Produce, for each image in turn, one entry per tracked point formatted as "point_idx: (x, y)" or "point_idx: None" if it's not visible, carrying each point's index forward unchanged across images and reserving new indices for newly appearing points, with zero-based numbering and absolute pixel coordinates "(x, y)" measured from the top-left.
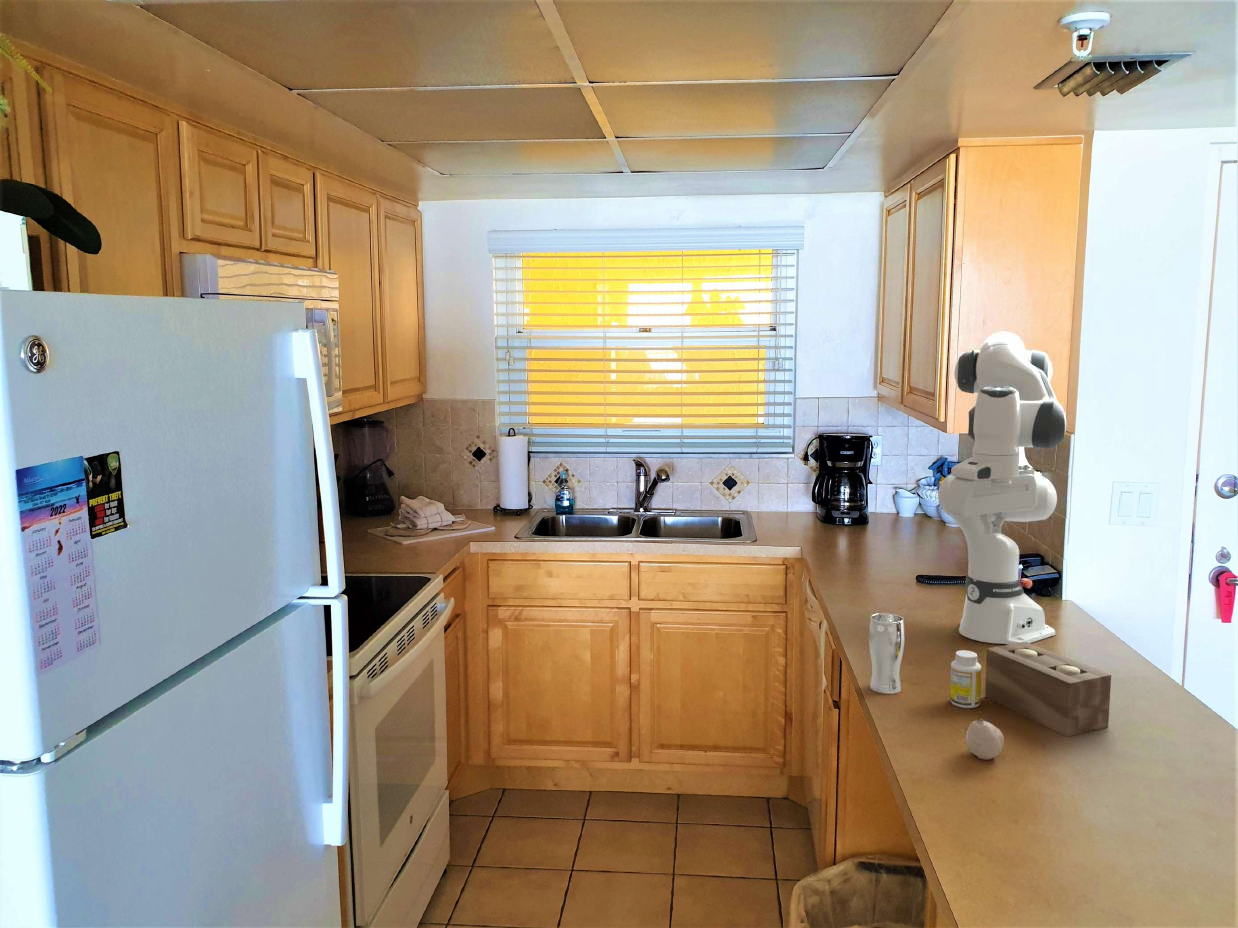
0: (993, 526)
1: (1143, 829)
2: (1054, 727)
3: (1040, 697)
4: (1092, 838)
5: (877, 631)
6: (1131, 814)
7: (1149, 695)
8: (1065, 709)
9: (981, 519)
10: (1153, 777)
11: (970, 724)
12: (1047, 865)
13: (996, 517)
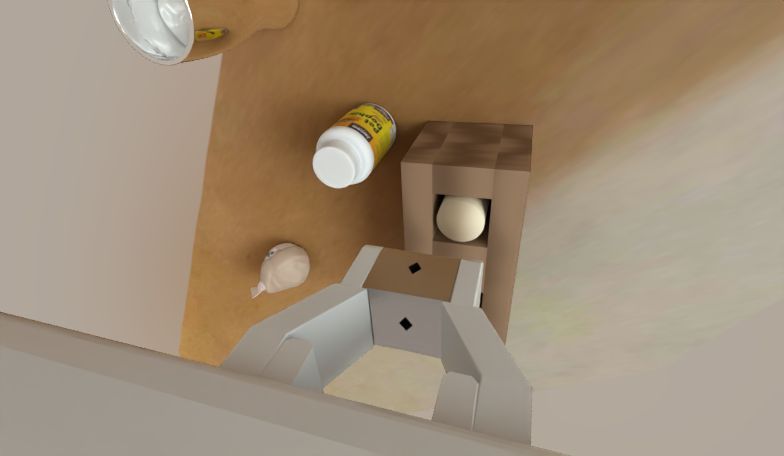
0: (380, 344)
1: (345, 381)
2: None
3: None
4: None
5: (142, 27)
6: (353, 371)
7: (730, 261)
8: None
9: (274, 323)
10: (431, 360)
11: (261, 268)
12: None
13: (473, 369)
